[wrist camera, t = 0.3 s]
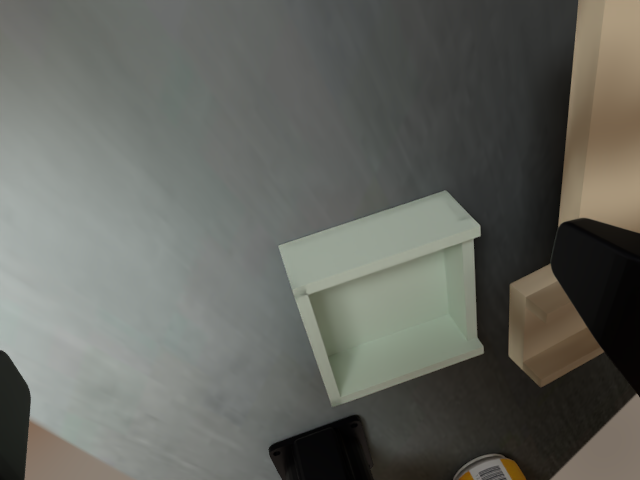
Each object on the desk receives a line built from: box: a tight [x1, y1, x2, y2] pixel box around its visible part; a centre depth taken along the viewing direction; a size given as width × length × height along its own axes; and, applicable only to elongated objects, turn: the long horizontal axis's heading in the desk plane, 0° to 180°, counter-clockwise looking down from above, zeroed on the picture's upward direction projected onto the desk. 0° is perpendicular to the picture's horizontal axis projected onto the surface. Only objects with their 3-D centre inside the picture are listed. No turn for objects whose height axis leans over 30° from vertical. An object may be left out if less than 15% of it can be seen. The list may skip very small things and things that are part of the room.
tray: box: [278, 190, 484, 408], centre depth 26 cm, size 9×9×4 cm
